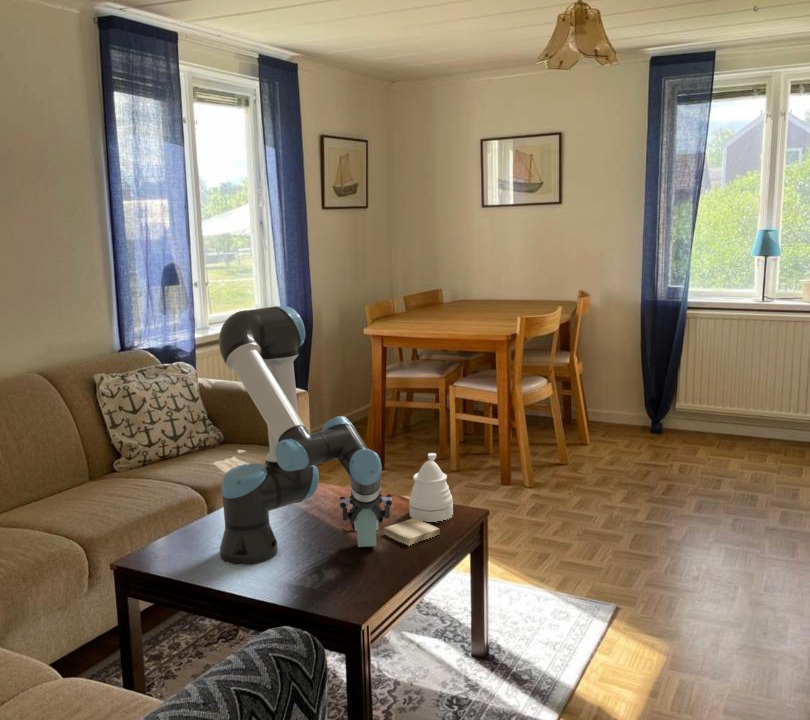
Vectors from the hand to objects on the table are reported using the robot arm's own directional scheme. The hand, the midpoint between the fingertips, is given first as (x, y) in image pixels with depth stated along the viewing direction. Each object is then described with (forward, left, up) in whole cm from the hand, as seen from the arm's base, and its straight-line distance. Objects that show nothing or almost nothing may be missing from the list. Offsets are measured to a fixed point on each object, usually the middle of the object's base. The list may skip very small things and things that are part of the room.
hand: (366, 525), depth 230 cm
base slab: (+12, -5, -5) cm, 14 cm away
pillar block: (-2, -3, -3) cm, 5 cm away
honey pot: (+26, +3, -5) cm, 27 cm away
